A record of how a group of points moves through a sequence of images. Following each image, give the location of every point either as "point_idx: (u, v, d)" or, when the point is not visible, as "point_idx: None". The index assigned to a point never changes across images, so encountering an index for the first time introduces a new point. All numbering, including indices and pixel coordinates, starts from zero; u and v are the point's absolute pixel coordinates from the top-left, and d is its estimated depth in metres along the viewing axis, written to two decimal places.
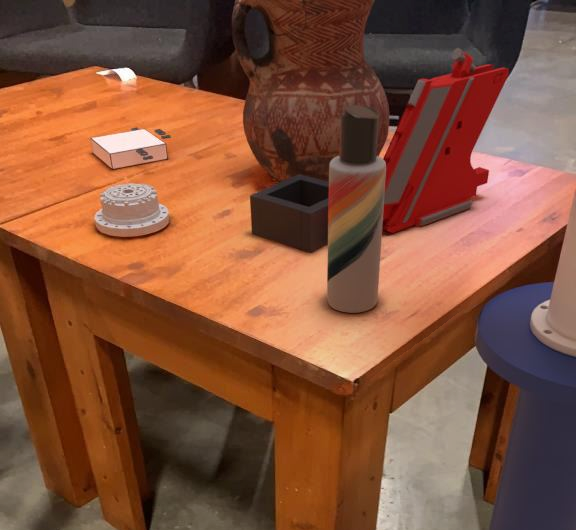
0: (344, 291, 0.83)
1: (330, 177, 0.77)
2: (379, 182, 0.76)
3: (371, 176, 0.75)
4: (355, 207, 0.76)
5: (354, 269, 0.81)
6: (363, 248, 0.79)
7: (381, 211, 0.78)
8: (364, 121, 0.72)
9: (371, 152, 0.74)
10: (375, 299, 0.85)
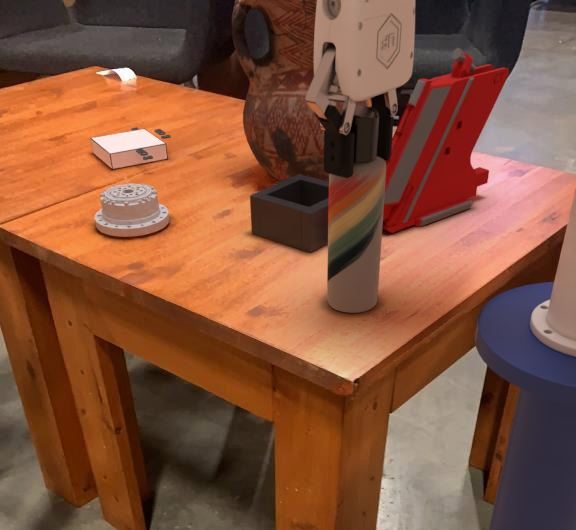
0: (344, 291, 0.83)
1: (330, 177, 0.77)
2: (379, 182, 0.76)
3: (371, 176, 0.75)
4: (355, 207, 0.76)
5: (354, 269, 0.81)
6: (363, 248, 0.79)
7: (381, 211, 0.78)
8: (364, 121, 0.72)
9: (371, 152, 0.74)
10: (375, 299, 0.85)
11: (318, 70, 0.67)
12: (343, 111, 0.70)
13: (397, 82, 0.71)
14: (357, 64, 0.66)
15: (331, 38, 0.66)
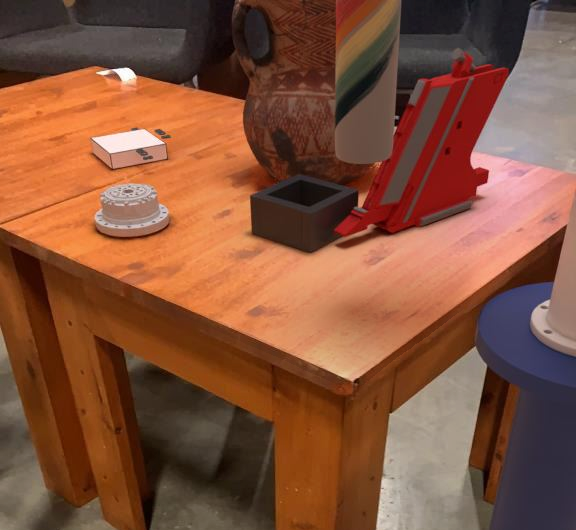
0: (355, 136, 0.72)
1: None
2: None
3: None
4: (367, 23, 0.66)
5: (366, 105, 0.70)
6: (376, 78, 0.69)
7: (397, 32, 0.68)
8: None
9: None
10: (390, 149, 0.74)
11: None
12: None
13: None
14: None
15: None
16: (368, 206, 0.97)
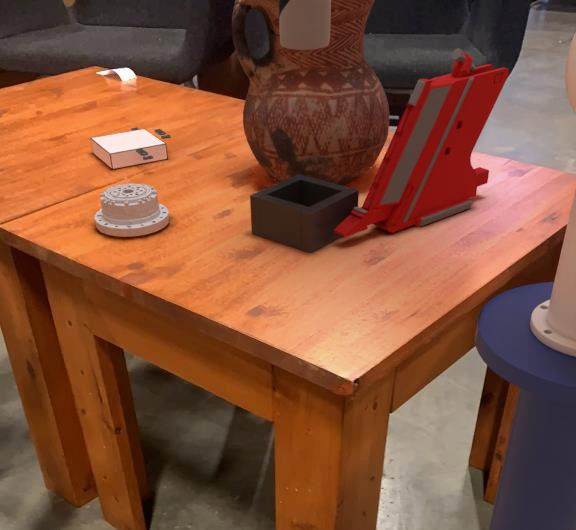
0: (295, 23, 0.83)
1: None
2: None
3: None
4: None
5: None
6: None
7: None
8: None
9: None
10: (327, 37, 0.85)
11: None
12: None
13: None
14: None
15: None
16: (368, 206, 0.97)
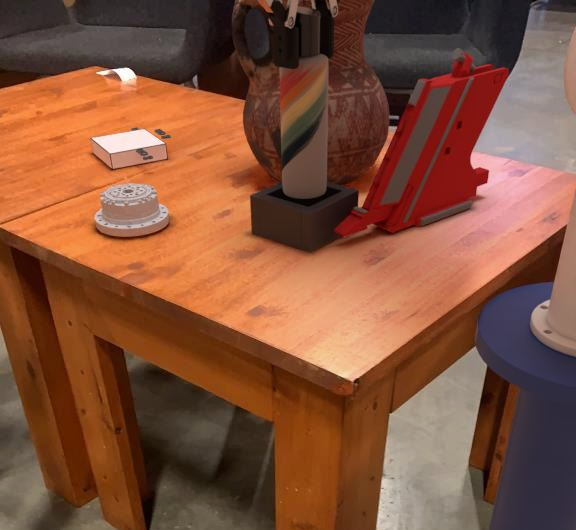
0: (296, 178, 0.95)
1: (280, 71, 0.88)
2: (322, 74, 0.88)
3: (314, 68, 0.87)
4: (301, 97, 0.88)
5: (304, 156, 0.93)
6: (310, 136, 0.91)
7: (325, 103, 0.90)
8: (306, 17, 0.84)
9: (314, 47, 0.86)
10: (324, 187, 0.97)
11: None
12: (287, 6, 0.82)
13: None
14: None
15: None
16: (368, 206, 0.97)
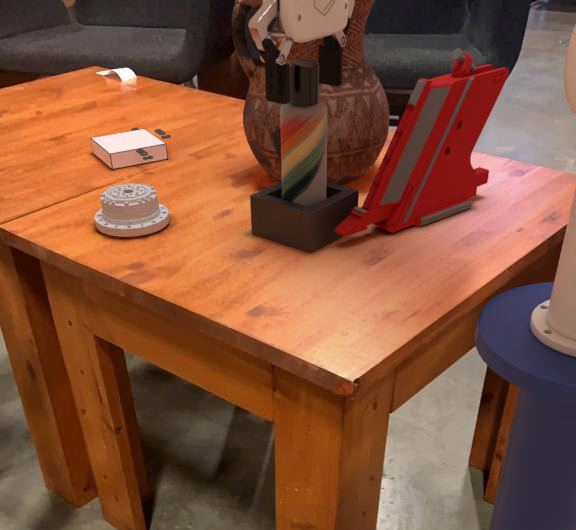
0: None
1: (281, 119, 0.92)
2: (321, 122, 0.91)
3: (313, 117, 0.90)
4: (301, 144, 0.92)
5: (303, 198, 0.96)
6: (309, 180, 0.95)
7: (324, 148, 0.94)
8: (306, 70, 0.87)
9: (313, 97, 0.90)
10: None
11: (262, 6, 0.81)
12: (281, 44, 0.83)
13: (334, 28, 0.86)
14: (297, 10, 0.81)
15: None
16: (368, 206, 0.97)
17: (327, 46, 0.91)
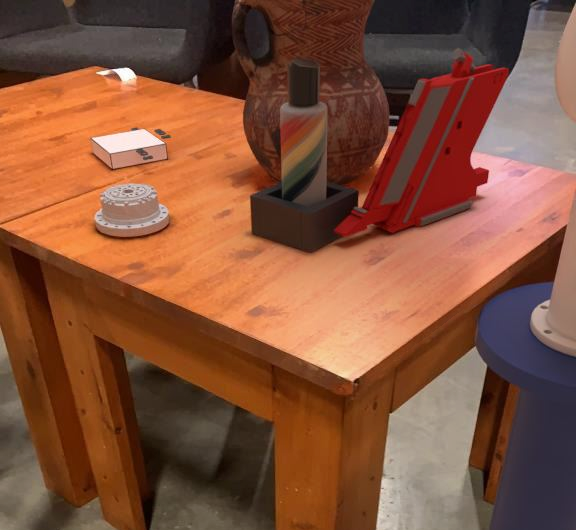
0: None
1: (281, 119, 0.92)
2: (321, 122, 0.91)
3: (313, 117, 0.90)
4: (301, 144, 0.92)
5: (303, 198, 0.96)
6: (309, 180, 0.95)
7: (324, 148, 0.94)
8: (306, 70, 0.87)
9: (313, 97, 0.90)
10: None
11: None
12: None
13: None
14: None
15: None
16: (368, 206, 0.97)
17: None
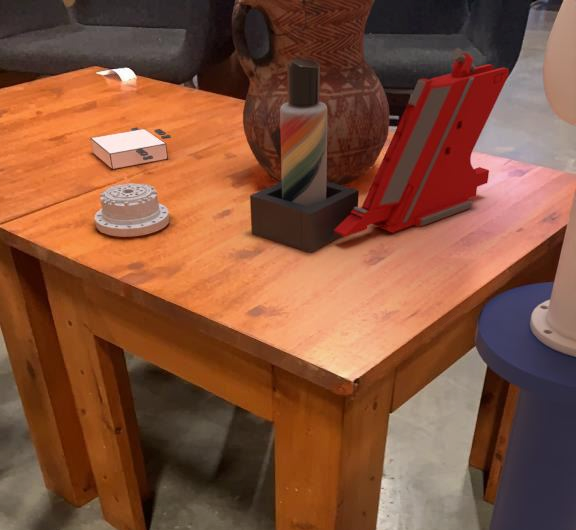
0: None
1: (281, 119, 0.92)
2: (321, 122, 0.91)
3: (313, 117, 0.90)
4: (301, 144, 0.92)
5: (303, 198, 0.96)
6: (309, 180, 0.95)
7: (324, 148, 0.94)
8: (306, 70, 0.87)
9: (313, 97, 0.90)
10: None
11: None
12: None
13: None
14: None
15: None
16: (368, 206, 0.97)
17: None
